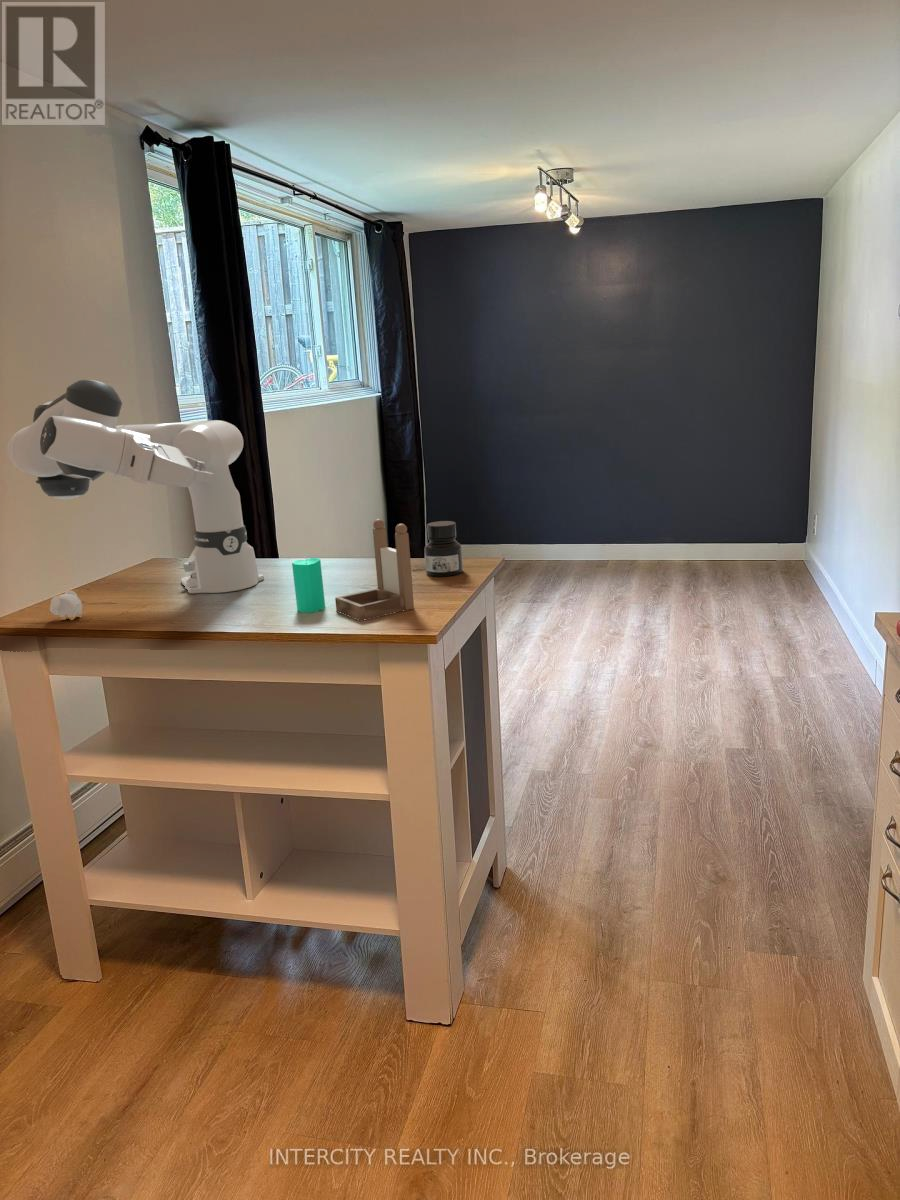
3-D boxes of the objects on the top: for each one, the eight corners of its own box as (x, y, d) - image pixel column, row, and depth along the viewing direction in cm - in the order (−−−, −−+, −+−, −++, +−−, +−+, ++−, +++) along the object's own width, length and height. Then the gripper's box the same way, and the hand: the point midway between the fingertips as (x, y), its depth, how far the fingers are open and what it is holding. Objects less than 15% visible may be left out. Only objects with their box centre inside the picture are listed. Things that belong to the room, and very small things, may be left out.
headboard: (377, 601, 203) (370, 519, 198) (387, 599, 204) (380, 517, 200) (405, 611, 194) (398, 525, 189) (415, 608, 195) (408, 523, 190)
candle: (329, 604, 203) (323, 550, 200) (319, 612, 197) (313, 556, 194) (303, 604, 204) (297, 551, 201) (292, 612, 198) (286, 557, 195)
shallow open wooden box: (336, 611, 197) (335, 597, 196) (379, 601, 203) (378, 588, 202) (361, 621, 189) (359, 606, 188) (405, 610, 194) (404, 596, 193)
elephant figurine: (62, 614, 209) (57, 589, 208) (94, 614, 208) (89, 588, 206) (43, 623, 203) (38, 597, 202) (75, 623, 201) (71, 596, 200)
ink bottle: (419, 577, 222) (415, 527, 219) (431, 568, 231) (427, 520, 227) (458, 577, 219) (455, 527, 216) (469, 568, 228) (466, 520, 224)
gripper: (126, 460, 184) (196, 476, 191) (138, 484, 167) (214, 501, 174) (133, 429, 183) (203, 446, 190) (146, 450, 166) (222, 468, 172)
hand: (209, 472), depth 181 cm, fingers open, 8 cm apart
